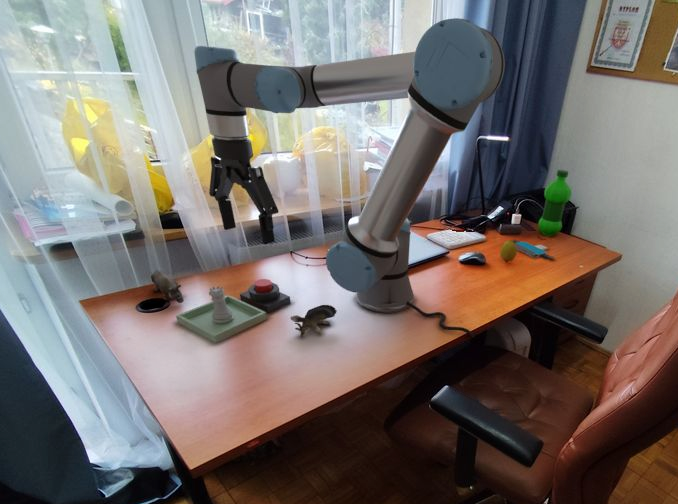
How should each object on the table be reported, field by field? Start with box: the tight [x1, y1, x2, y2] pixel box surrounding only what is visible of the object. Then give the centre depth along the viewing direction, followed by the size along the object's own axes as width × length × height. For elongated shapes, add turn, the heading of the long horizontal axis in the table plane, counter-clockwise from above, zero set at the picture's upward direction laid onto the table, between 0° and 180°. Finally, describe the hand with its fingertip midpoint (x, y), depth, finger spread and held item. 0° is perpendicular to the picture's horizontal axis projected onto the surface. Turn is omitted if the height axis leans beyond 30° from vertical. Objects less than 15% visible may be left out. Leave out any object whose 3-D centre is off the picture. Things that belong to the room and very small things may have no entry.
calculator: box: [426, 229, 487, 250], centre depth 158 cm, size 13×20×2 cm, turn 133°
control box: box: [239, 282, 292, 314], centre depth 105 cm, size 10×7×4 cm
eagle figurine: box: [290, 304, 338, 338], centre depth 96 cm, size 8×7×9 cm
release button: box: [253, 278, 273, 293], centre depth 103 cm, size 4×4×2 cm
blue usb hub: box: [512, 239, 554, 261], centre depth 157 cm, size 20×12×2 cm, turn 38°
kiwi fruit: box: [499, 240, 518, 264], centre depth 142 cm, size 6×6×8 cm
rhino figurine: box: [150, 269, 185, 304], centre depth 101 cm, size 4×14×6 cm, turn 49°
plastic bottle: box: [537, 169, 572, 237], centre depth 168 cm, size 10×10×25 cm
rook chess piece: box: [208, 285, 233, 324], centre depth 95 cm, size 4×4×8 cm
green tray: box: [175, 294, 268, 344], centre depth 97 cm, size 13×13×2 cm
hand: (249, 235), depth 99 cm, fingers open, 13 cm apart
